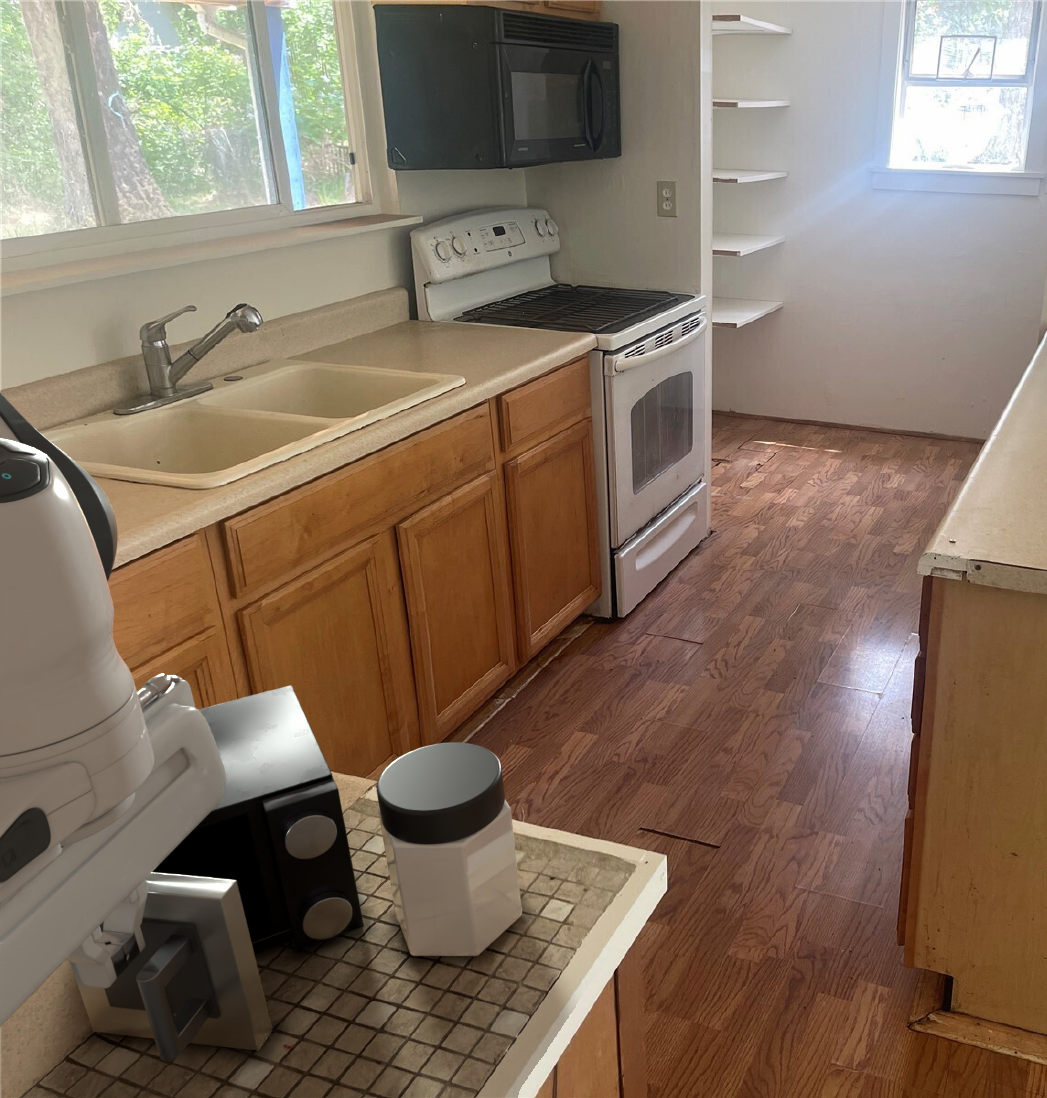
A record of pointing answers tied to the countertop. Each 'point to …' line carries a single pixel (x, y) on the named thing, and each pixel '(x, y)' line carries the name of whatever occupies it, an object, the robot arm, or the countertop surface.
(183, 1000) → the oven door
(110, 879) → the robot arm
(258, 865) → the oven
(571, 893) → the countertop surface
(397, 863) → the jar
